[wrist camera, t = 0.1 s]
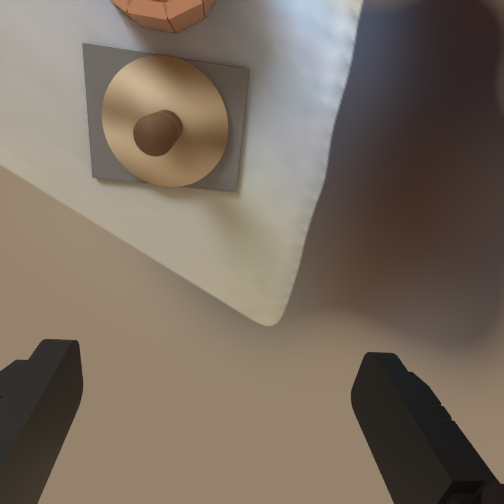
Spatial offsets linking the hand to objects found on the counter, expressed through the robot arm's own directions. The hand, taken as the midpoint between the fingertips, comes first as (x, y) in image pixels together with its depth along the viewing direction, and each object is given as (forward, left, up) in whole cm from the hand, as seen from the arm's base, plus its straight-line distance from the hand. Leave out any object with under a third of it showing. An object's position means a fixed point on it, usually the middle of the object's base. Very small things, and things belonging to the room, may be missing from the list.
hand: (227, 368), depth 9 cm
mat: (-3, -5, -29) cm, 30 cm away
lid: (-3, -5, -29) cm, 29 cm away
